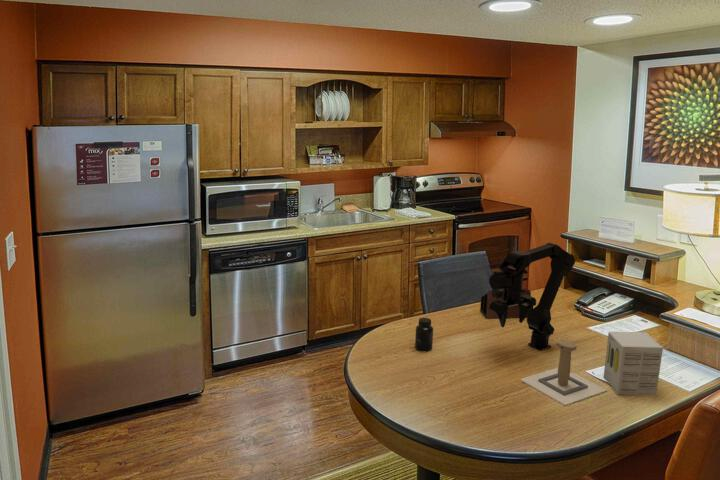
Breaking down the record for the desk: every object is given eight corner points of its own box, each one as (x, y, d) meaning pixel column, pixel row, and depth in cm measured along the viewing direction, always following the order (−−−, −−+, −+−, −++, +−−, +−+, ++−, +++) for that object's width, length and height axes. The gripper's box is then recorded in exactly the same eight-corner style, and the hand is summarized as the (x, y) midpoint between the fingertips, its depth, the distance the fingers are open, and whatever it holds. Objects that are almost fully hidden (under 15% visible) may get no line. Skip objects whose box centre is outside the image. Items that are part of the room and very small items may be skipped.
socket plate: (560, 368, 214) (560, 364, 213) (606, 391, 197) (607, 388, 197) (519, 380, 204) (520, 376, 204) (564, 406, 187) (565, 402, 187)
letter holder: (529, 318, 263) (531, 288, 259) (486, 319, 261) (487, 289, 258) (521, 310, 272) (523, 281, 269) (479, 311, 271) (481, 282, 267)
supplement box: (602, 376, 207) (607, 330, 203) (640, 377, 207) (646, 331, 203) (617, 395, 195) (623, 346, 190) (657, 396, 194) (664, 347, 190)
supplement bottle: (412, 350, 228) (413, 321, 225) (417, 343, 234) (418, 315, 231) (429, 353, 225) (431, 324, 223) (434, 346, 232) (435, 318, 229)
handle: (566, 390, 197) (570, 348, 193) (550, 382, 202) (554, 342, 198) (575, 386, 199) (579, 345, 196) (559, 378, 204) (563, 338, 201)
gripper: (517, 276, 230) (514, 313, 234) (480, 283, 221) (478, 322, 225) (538, 284, 220) (535, 323, 224) (501, 291, 212) (498, 332, 215)
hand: (511, 324), depth 222 cm, fingers open, 9 cm apart
